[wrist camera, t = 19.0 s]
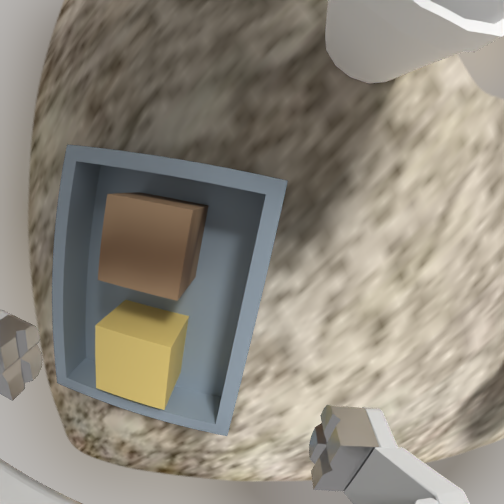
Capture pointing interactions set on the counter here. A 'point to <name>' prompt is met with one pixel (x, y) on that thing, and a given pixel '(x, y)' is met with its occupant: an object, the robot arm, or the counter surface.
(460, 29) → the foam cup
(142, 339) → the mustard block
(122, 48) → the counter surface
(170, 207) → the walnut block
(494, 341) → the counter surface
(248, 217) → the tray
